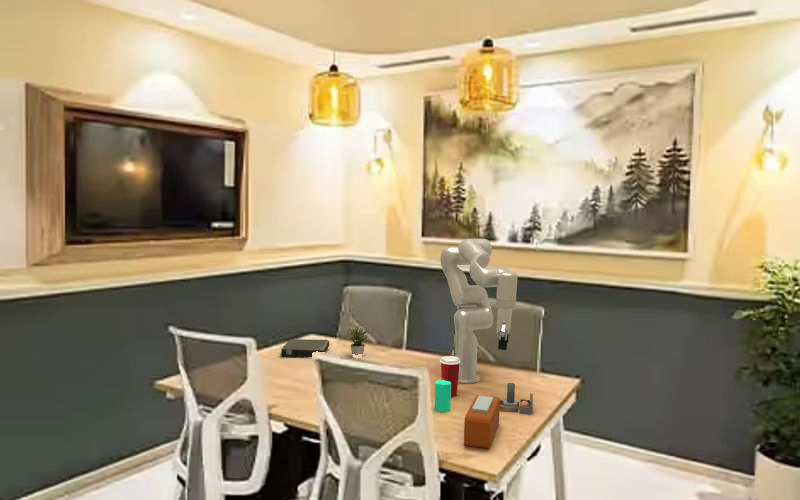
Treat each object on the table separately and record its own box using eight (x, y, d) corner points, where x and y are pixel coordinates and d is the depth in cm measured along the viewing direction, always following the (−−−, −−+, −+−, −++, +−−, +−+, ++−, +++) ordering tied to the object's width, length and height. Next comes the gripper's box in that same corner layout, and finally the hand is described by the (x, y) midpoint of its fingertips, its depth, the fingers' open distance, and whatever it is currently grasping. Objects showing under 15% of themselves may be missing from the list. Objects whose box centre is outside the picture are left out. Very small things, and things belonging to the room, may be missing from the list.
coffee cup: (461, 392, 248) (462, 356, 247) (456, 398, 240) (457, 361, 239) (442, 390, 251) (442, 354, 249) (436, 396, 243) (437, 359, 241)
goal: (519, 413, 225) (519, 400, 224) (520, 405, 234) (520, 392, 233) (532, 414, 224) (532, 401, 223) (532, 406, 233) (532, 393, 232)
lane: (472, 408, 230) (472, 404, 229) (474, 401, 237) (474, 397, 237) (518, 412, 226) (518, 408, 226) (518, 405, 233) (519, 401, 233)
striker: (503, 409, 228) (504, 385, 228) (504, 405, 233) (504, 381, 232) (516, 410, 227) (517, 386, 227) (517, 406, 232) (518, 382, 231)
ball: (521, 401, 227) (530, 403, 227) (521, 398, 231) (530, 401, 230) (519, 409, 228) (528, 412, 227) (519, 406, 231) (528, 409, 230)
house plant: (371, 362, 291) (371, 328, 290) (342, 361, 291) (343, 328, 290) (373, 354, 305) (373, 322, 304) (345, 353, 306) (346, 322, 304)
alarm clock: (475, 421, 217) (476, 390, 216) (499, 424, 214) (500, 392, 213) (463, 447, 194) (464, 413, 193) (489, 450, 192) (490, 416, 191)
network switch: (284, 347, 317) (284, 338, 317) (329, 347, 320) (329, 338, 319) (280, 359, 294) (280, 349, 293) (328, 359, 296) (329, 349, 296)
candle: (445, 413, 224) (446, 381, 223) (431, 410, 227) (432, 379, 226) (453, 408, 229) (453, 377, 228) (439, 405, 232) (439, 375, 231)
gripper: (497, 297, 243) (495, 339, 245) (494, 307, 226) (491, 351, 229) (516, 299, 241) (513, 341, 244) (514, 309, 225) (511, 353, 227)
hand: (503, 346), depth 236 cm, fingers open, 9 cm apart
